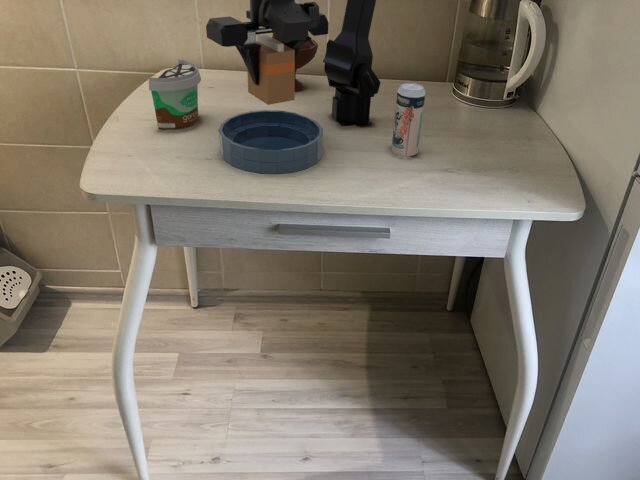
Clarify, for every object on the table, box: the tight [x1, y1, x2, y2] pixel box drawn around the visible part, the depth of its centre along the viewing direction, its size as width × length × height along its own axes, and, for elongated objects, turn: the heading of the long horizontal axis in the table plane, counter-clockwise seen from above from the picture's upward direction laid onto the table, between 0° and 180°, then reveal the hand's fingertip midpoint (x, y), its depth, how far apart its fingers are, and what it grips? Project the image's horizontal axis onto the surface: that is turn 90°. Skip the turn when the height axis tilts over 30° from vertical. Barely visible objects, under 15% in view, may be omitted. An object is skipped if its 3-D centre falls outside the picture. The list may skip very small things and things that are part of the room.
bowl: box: [218, 109, 324, 175], centre depth 101 cm, size 17×17×4 cm
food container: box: [148, 58, 202, 131], centre depth 108 cm, size 12×6×10 cm, turn 168°
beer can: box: [391, 82, 427, 158], centre depth 103 cm, size 5×5×12 cm
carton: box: [246, 34, 296, 106], centre depth 96 cm, size 5×6×9 cm
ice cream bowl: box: [271, 33, 319, 92], centre depth 126 cm, size 11×11×15 cm
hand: (270, 82), depth 97 cm, fingers closed on carton, 5 cm apart
